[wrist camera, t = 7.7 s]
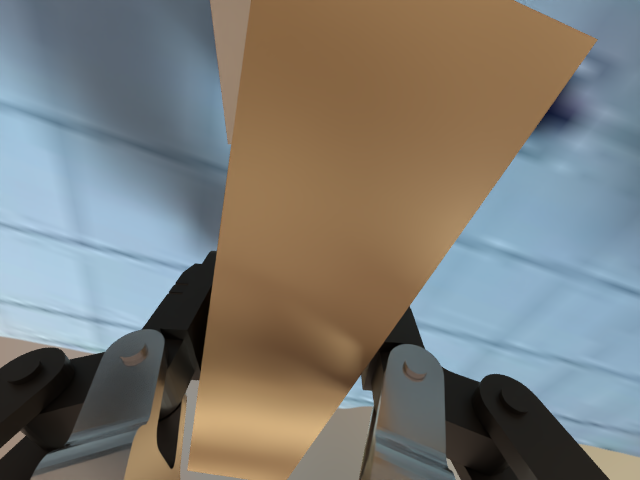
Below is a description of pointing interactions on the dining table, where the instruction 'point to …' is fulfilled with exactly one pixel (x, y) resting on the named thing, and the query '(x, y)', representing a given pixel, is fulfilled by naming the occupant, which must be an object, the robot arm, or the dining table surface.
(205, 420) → the bar
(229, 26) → the display stand
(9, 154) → the dining table surface
